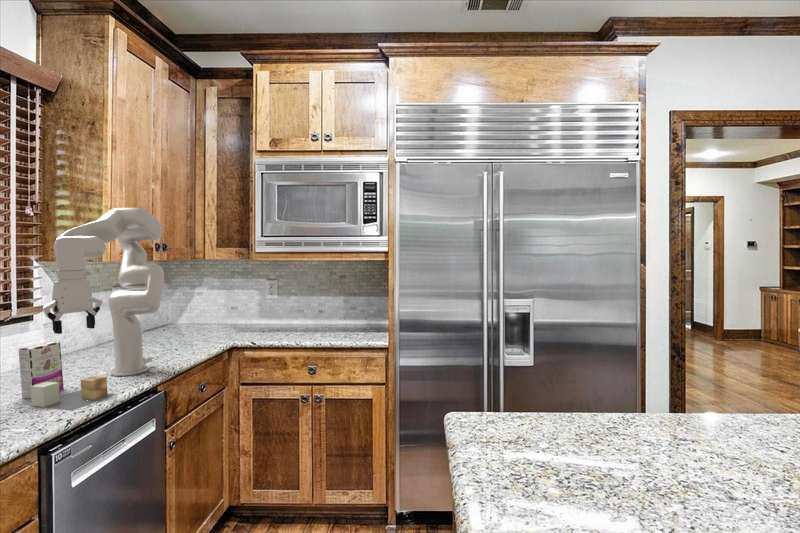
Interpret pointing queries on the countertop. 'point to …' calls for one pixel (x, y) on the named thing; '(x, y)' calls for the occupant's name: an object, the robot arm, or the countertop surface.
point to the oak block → (94, 387)
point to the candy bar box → (40, 366)
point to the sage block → (45, 394)
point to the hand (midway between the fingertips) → (74, 330)
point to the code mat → (73, 401)
